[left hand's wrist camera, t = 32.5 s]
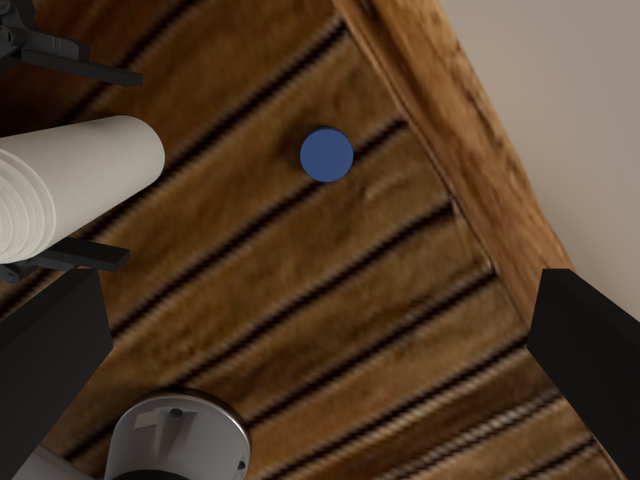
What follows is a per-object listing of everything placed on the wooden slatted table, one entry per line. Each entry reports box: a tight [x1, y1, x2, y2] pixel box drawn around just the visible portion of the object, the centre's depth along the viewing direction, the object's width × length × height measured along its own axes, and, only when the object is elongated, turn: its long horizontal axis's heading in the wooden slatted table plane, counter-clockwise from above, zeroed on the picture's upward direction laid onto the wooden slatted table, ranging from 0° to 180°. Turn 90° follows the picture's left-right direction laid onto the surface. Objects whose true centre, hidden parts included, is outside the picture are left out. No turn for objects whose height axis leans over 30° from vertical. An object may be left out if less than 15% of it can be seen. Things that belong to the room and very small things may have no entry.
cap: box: [300, 126, 353, 182], centre depth 36 cm, size 4×4×2 cm
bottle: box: [0, 115, 165, 264], centre depth 27 cm, size 6×6×21 cm
